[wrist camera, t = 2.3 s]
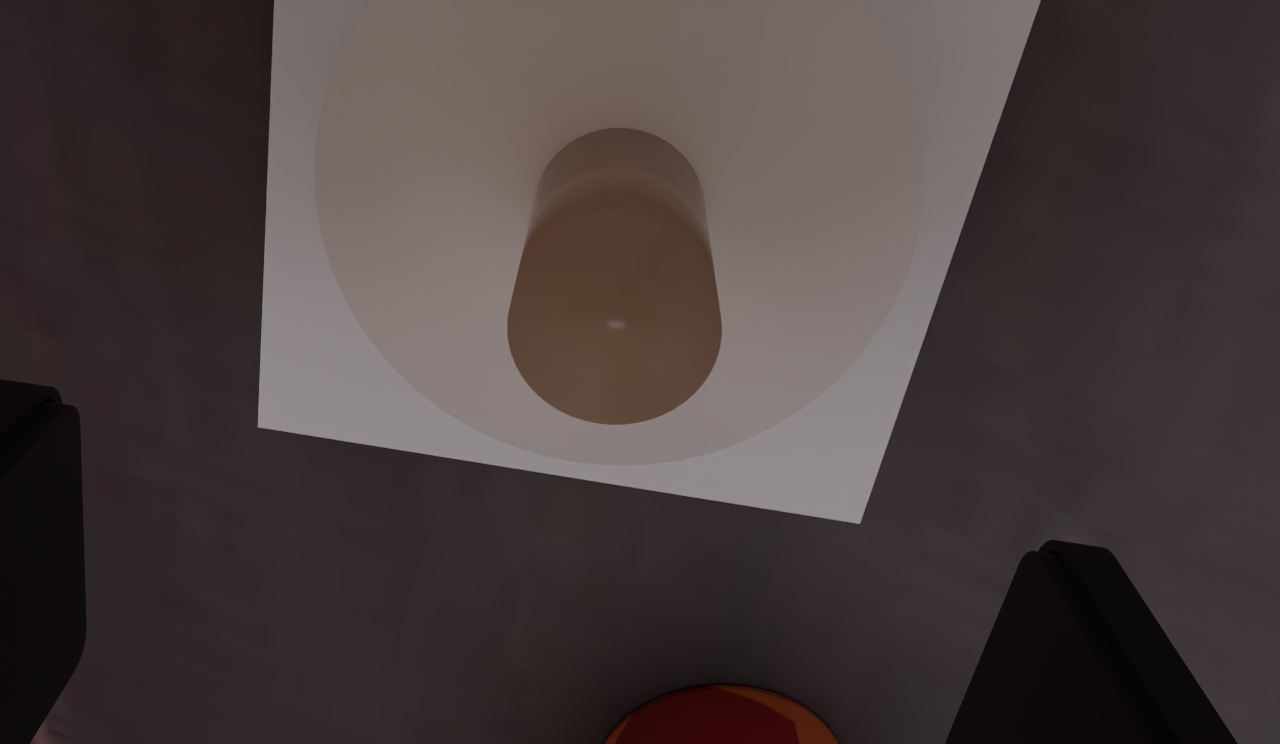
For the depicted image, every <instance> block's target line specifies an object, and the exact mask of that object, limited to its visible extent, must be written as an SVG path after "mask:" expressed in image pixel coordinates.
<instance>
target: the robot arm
mask: <svg viewBox="0 0 1280 744" xmlns="http://www.w3.org/2000/svg"><path fill="white" fill-rule="evenodd" d="M85 639H86V596H85V564H84V532H83V500H82V468H81V436H80V418H79V413H78V410H77V408H76V407H74V406H72V405H65V404H62V399H61V396H60V394H59V392H58V391H57V390H56V389H55V388H54V387H49V386H42V385H36V384H29V383H23V382H16V381H10V380H3V379H0V744H30V742H31V741H32V739H33V737H34V736H35V734H36V733H37V731H38V729H39V728H40V726H41V724H42V723H43V721H44V720H45V718H46V716H47V715H48V713H49V711H50V710H51V708H52V707H53V705H54V703H55V702H56V700H57V699H58V697H59V695H60V694H61V692H62V690H63V689H64V687H65V686H66V684H67V682H68V681H69V679H70V678H71V676H72V674H73V673H74V671H75V669H76V667H77V665H78V663H79V661H80V658H81V655H82V652H83V648H84V645H85ZM945 744H1237V742H1236V741H1235V739H1234V738H1233V736H1232V734H1231V733H1230V731H1229V730H1228V728H1227V727H1226V725H1225V724H1224V722H1223V721H1222V719H1221V718H1220V716H1219V715H1218V713H1217V712H1216V710H1215V709H1214V707H1213V706H1212V704H1211V703H1210V701H1209V699H1208V698H1207V696H1206V695H1205V693H1204V692H1203V690H1202V689H1201V687H1200V686H1199V684H1198V683H1197V681H1196V680H1195V678H1194V677H1193V675H1192V674H1191V672H1190V671H1189V669H1188V667H1187V666H1186V664H1185V663H1184V661H1183V660H1182V658H1181V657H1180V655H1179V654H1178V652H1177V651H1176V649H1175V648H1174V646H1173V645H1172V643H1171V642H1170V640H1169V639H1168V637H1167V636H1166V634H1165V632H1164V631H1163V629H1162V628H1161V626H1160V625H1159V623H1158V622H1157V620H1156V619H1155V617H1154V616H1153V614H1152V613H1151V611H1150V610H1149V608H1148V607H1147V605H1146V604H1145V602H1144V600H1143V599H1142V597H1141V596H1140V594H1139V593H1138V591H1137V590H1136V588H1135V587H1134V585H1133V584H1132V582H1131V581H1130V579H1129V578H1128V576H1127V575H1126V573H1125V572H1124V570H1123V569H1122V567H1121V565H1120V564H1119V562H1118V561H1117V559H1116V558H1115V556H1114V555H1113V554H1112V553H1111V552H1110V551H1109V550H1108V549H1106V548H1102V547H1096V546H1090V545H1083V544H1077V543H1070V542H1064V541H1057V540H1050V541H1047V542H1046V543H1045V544H1044V545H1043V546H1042V547H1041V548H1040V549H1039V551H1038V552H1036V551H1030V552H1027V553H1026V554H1025V555H1024V556H1023V558H1022V560H1021V561H1020V563H1019V566H1018V568H1017V571H1016V573H1015V575H1014V578H1013V580H1012V583H1011V585H1010V587H1009V590H1008V592H1007V595H1006V597H1005V600H1004V602H1003V604H1002V607H1001V609H1000V612H999V614H998V617H997V619H996V621H995V624H994V626H993V629H992V631H991V633H990V636H989V638H988V641H987V643H986V646H985V648H984V650H983V653H982V655H981V658H980V660H979V663H978V665H977V667H976V670H975V672H974V675H973V677H972V679H971V682H970V684H969V687H968V689H967V692H966V694H965V696H964V699H963V701H962V704H961V706H960V708H959V711H958V713H957V716H956V718H955V721H954V723H953V725H952V728H951V730H950V733H949V735H948V738H947V740H946V743H945Z"/></svg>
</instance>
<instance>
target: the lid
mask: <svg viewBox="0 0 1280 744" xmlns="http://www.w3.org/2000/svg"><path fill="white" fill-rule="evenodd" d="M314 178H315V200H316V207H317V213H318V220H319V226H320V232H321V236H322V240H323V243H324V246H325V250H326V253H327V256H328V260H329V263H330V267H331V270H332V272H333V274H334V277H335V279H336V281H337V283H338V285H339V288H340V290H341V292H342V294H343V297H344V299H345V301H346V303H347V305H348V307H349V308H350V310H351V312H352V313H353V315H354V316H355V318H356V320H357V321H358V323H359V325H360V326H361V328H362V330H363V331H364V333H365V335H366V336H367V337H368V338H369V340H370V341H371V342H372V343H373V345H374V346H375V347H376V348H377V350H378V351H379V352H380V353H381V355H382V356H383V357H384V358H385V360H386V361H387V362H388V363H389V364H390V365H391V366H392V367H393V368H394V369H395V370H396V371H397V372H398V373H399V374H400V375H401V376H402V377H403V378H404V379H405V380H406V381H407V382H408V383H409V384H410V385H411V386H412V387H413V388H414V389H415V390H417V391H418V392H419V393H420V394H422V395H423V396H424V397H426V398H427V399H428V400H429V401H431V402H432V403H433V404H435V405H436V406H437V407H438V408H440V409H441V410H442V411H444V412H446V413H447V414H449V415H451V416H452V417H454V418H456V419H457V420H459V421H461V422H462V423H464V424H465V425H467V426H469V427H470V428H472V429H474V430H476V431H478V432H481V433H483V434H485V435H487V436H489V437H492V438H494V439H496V440H498V441H500V442H502V443H505V444H507V445H510V446H513V447H517V448H520V449H523V450H526V451H529V452H532V453H535V454H538V455H542V456H547V457H551V458H556V459H561V460H566V461H570V462H577V463H588V464H598V465H608V466H610V465H648V464H656V463H664V462H673V461H680V460H684V459H688V458H692V457H696V456H701V455H705V454H709V453H713V452H716V451H719V450H721V449H724V448H727V447H730V446H732V445H735V444H738V443H741V442H744V441H746V440H748V439H750V438H752V437H754V436H756V435H758V434H760V433H762V432H764V431H766V430H768V429H770V428H772V427H775V426H777V425H778V424H780V423H781V422H783V421H784V420H786V419H788V418H789V417H791V416H792V415H794V414H795V413H797V412H798V411H800V410H801V409H803V408H805V407H806V406H808V405H809V404H810V403H811V402H812V401H814V400H815V399H816V398H817V397H818V396H820V395H821V394H822V393H823V392H824V391H826V390H827V389H828V388H829V387H830V386H832V385H833V384H834V383H835V382H836V381H837V380H838V379H839V378H840V377H841V376H842V375H843V374H844V373H845V371H846V370H847V369H848V368H849V367H850V366H851V365H852V364H853V363H854V362H855V361H856V360H857V359H858V358H859V357H860V355H861V354H862V352H863V351H864V350H865V348H866V347H867V346H868V344H869V343H870V342H871V340H872V339H873V337H874V336H875V335H876V333H877V332H878V331H879V329H880V328H881V326H882V324H883V322H884V321H885V319H886V317H887V315H888V313H889V312H890V310H891V308H892V306H893V304H894V303H895V301H896V299H897V297H898V295H899V293H900V290H901V288H902V285H903V283H904V280H905V277H906V275H907V272H908V270H909V267H910V265H911V262H912V259H913V255H914V251H915V246H916V242H917V238H918V234H919V230H920V226H921V218H922V209H923V200H924V191H925V177H924V148H923V142H922V137H921V131H920V125H919V119H918V113H917V109H916V106H915V103H914V99H913V96H912V93H911V90H910V87H909V84H908V81H907V77H906V74H905V72H904V70H903V68H902V65H901V63H900V61H899V59H898V57H897V55H896V53H895V51H894V49H893V47H892V45H891V43H890V41H889V39H888V37H887V35H886V33H885V32H884V30H883V29H882V27H881V26H880V24H879V23H878V22H877V20H876V19H875V17H874V16H873V14H872V13H871V11H870V10H869V8H868V7H867V5H866V4H865V2H864V1H863V0H373V1H372V3H371V4H370V5H369V6H368V7H367V9H366V10H365V12H364V14H363V15H362V17H361V18H360V20H359V22H358V23H357V25H356V27H355V28H354V30H353V31H352V33H351V35H350V36H349V38H348V40H347V41H346V43H345V45H344V47H343V50H342V52H341V54H340V57H339V59H338V61H337V64H336V66H335V68H334V71H333V73H332V75H331V78H330V80H329V83H328V87H327V91H326V94H325V98H324V102H323V105H322V109H321V113H320V117H319V122H318V130H317V138H316V147H315V155H314Z"/></svg>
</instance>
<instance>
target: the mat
mask: <svg viewBox="0 0 1280 744" xmlns="http://www.w3.org/2000/svg"><path fill="white" fill-rule="evenodd" d="M372 1H373V0H274V19H273V45H272V71H271V97H270V123H269V149H268V175H267V201H266V227H265V253H264V279H263V305H262V331H261V357H260V383H259V409H258V427H260V428H266V429H273V430H279V431H285V432H291V433H298V434H304V435H310V436H316V437H322V438H329V439H335V440H341V441H347V442H354V443H360V444H366V445H372V446H378V447H385V448H391V449H397V450H403V451H410V452H416V453H422V454H428V455H434V456H441V457H447V458H453V459H459V460H466V461H472V462H478V463H484V464H490V465H497V466H503V467H509V468H515V469H522V470H528V471H534V472H540V473H546V474H553V475H559V476H565V477H571V478H578V479H584V480H590V481H596V482H602V483H609V484H615V485H621V486H627V487H634V488H640V489H646V490H652V491H658V492H665V493H671V494H677V495H683V496H690V497H696V498H702V499H708V500H714V501H721V502H727V503H733V504H739V505H746V506H752V507H758V508H764V509H770V510H777V511H783V512H789V513H795V514H802V515H808V516H814V517H820V518H826V519H833V520H839V521H845V522H851V523H858V524H860V522H861V519H862V516H863V513H864V510H865V508H866V505H867V502H868V499H869V496H870V493H871V490H872V487H873V484H874V482H875V479H876V476H877V473H878V470H879V467H880V464H881V461H882V458H883V455H884V453H885V450H886V447H887V444H888V441H889V438H890V435H891V432H892V429H893V427H894V424H895V421H896V418H897V415H898V412H899V409H900V406H901V403H902V400H903V398H904V395H905V392H906V389H907V386H908V383H909V380H910V377H911V374H912V372H913V369H914V366H915V363H916V360H917V357H918V354H919V351H920V348H921V345H922V343H923V340H924V337H925V334H926V331H927V328H928V325H929V322H930V319H931V317H932V314H933V311H934V308H935V305H936V302H937V299H938V296H939V293H940V290H941V288H942V285H943V282H944V279H945V276H946V273H947V270H948V267H949V264H950V262H951V259H952V256H953V253H954V250H955V247H956V244H957V241H958V238H959V235H960V233H961V230H962V227H963V224H964V221H965V218H966V215H967V212H968V209H969V206H970V204H971V201H972V198H973V195H974V192H975V189H976V186H977V183H978V180H979V178H980V175H981V172H982V169H983V166H984V163H985V160H986V157H987V154H988V151H989V149H990V146H991V143H992V140H993V137H994V134H995V131H996V128H997V125H998V123H999V120H1000V117H1001V114H1002V111H1003V108H1004V105H1005V102H1006V99H1007V96H1008V94H1009V91H1010V88H1011V85H1012V82H1013V79H1014V76H1015V73H1016V70H1017V68H1018V65H1019V62H1020V59H1021V56H1022V53H1023V50H1024V47H1025V44H1026V41H1027V39H1028V36H1029V33H1030V30H1031V27H1032V24H1033V21H1034V18H1035V15H1036V13H1037V10H1038V7H1039V4H1040V1H1041V0H863V1H864V2H865V4H866V5H867V7H868V8H869V10H870V11H871V13H872V14H873V16H874V17H875V19H876V20H877V22H878V23H879V24H880V26H881V27H882V29H883V30H884V32H885V33H886V35H887V37H888V39H889V41H890V43H891V45H892V47H893V49H894V51H895V53H896V55H897V57H898V59H899V61H900V63H901V65H902V68H903V70H904V72H905V74H906V77H907V81H908V84H909V87H910V90H911V93H912V96H913V99H914V103H915V106H916V109H917V113H918V119H919V125H920V131H921V137H922V142H923V148H924V177H925V191H924V200H923V209H922V218H921V226H920V230H919V234H918V238H917V242H916V246H915V251H914V255H913V259H912V262H911V265H910V267H909V270H908V272H907V275H906V277H905V280H904V283H903V285H902V288H901V290H900V293H899V295H898V297H897V299H896V301H895V303H894V304H893V306H892V308H891V310H890V312H889V313H888V315H887V317H886V319H885V321H884V322H883V324H882V326H881V328H880V329H879V331H878V332H877V333H876V335H875V336H874V337H873V339H872V340H871V342H870V343H869V344H868V346H867V347H866V348H865V350H864V351H863V352H862V354H861V355H860V357H859V358H858V359H857V360H856V361H855V362H854V363H853V364H852V365H851V366H850V367H849V368H848V369H847V370H846V371H845V373H844V374H843V375H842V376H841V377H840V378H839V379H838V380H837V381H836V382H835V383H834V384H833V385H832V386H830V387H829V388H828V389H827V390H826V391H824V392H823V393H822V394H821V395H820V396H818V397H817V398H816V399H815V400H814V401H812V402H811V403H810V404H809V405H808V406H806V407H805V408H803V409H801V410H800V411H798V412H797V413H795V414H794V415H792V416H791V417H789V418H788V419H786V420H784V421H783V422H781V423H780V424H778V425H777V426H775V427H772V428H770V429H768V430H766V431H764V432H762V433H760V434H758V435H756V436H754V437H752V438H750V439H748V440H746V441H744V442H741V443H738V444H735V445H732V446H730V447H727V448H724V449H721V450H719V451H716V452H713V453H709V454H705V455H701V456H696V457H692V458H688V459H684V460H680V461H673V462H664V463H656V464H648V465H610V466H608V465H598V464H588V463H577V462H570V461H566V460H561V459H556V458H551V457H547V456H542V455H538V454H535V453H532V452H529V451H526V450H523V449H520V448H517V447H513V446H510V445H507V444H505V443H502V442H500V441H498V440H496V439H494V438H492V437H489V436H487V435H485V434H483V433H481V432H478V431H476V430H474V429H472V428H470V427H469V426H467V425H465V424H464V423H462V422H461V421H459V420H457V419H456V418H454V417H452V416H451V415H449V414H447V413H446V412H444V411H442V410H441V409H440V408H438V407H437V406H436V405H435V404H433V403H432V402H431V401H429V400H428V399H427V398H426V397H424V396H423V395H422V394H420V393H419V392H418V391H417V390H415V389H414V388H413V387H412V386H411V385H410V384H409V383H408V382H407V381H406V380H405V379H404V378H403V377H402V376H401V375H400V374H399V373H398V372H397V371H396V370H395V369H394V368H393V367H392V366H391V365H390V364H389V363H388V362H387V361H386V360H385V358H384V357H383V356H382V355H381V353H380V352H379V351H378V350H377V348H376V347H375V346H374V345H373V343H372V342H371V341H370V340H369V338H368V337H367V336H366V335H365V333H364V331H363V330H362V328H361V326H360V325H359V323H358V321H357V320H356V318H355V316H354V315H353V313H352V312H351V310H350V308H349V307H348V305H347V303H346V301H345V299H344V297H343V294H342V292H341V290H340V288H339V285H338V283H337V281H336V279H335V277H334V274H333V272H332V270H331V267H330V263H329V260H328V256H327V253H326V250H325V246H324V243H323V240H322V236H321V232H320V226H319V220H318V213H317V207H316V200H315V178H314V155H315V147H316V138H317V130H318V122H319V117H320V113H321V109H322V105H323V102H324V98H325V94H326V91H327V87H328V83H329V80H330V78H331V75H332V73H333V71H334V68H335V66H336V64H337V61H338V59H339V57H340V54H341V52H342V50H343V47H344V45H345V43H346V41H347V40H348V38H349V36H350V35H351V33H352V31H353V30H354V28H355V27H356V25H357V23H358V22H359V20H360V18H361V17H362V15H363V14H364V12H365V10H366V9H367V7H368V6H369V5H370V4H371V3H372Z"/></svg>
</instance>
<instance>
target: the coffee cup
mask: <svg viewBox="0 0 1280 744" xmlns="http://www.w3.org/2000/svg"><path fill="white" fill-rule="evenodd" d="M604 744H838V742H837V740H836V739H835V737H834V735H833V734H832V732H831V731H830V729H829V728H828V727H827V726H826V724H825V723H824V722H823V721H822V720H821V719H820V718H819V717H818V716H817V715H815V714H814V713H813V712H812V711H810V710H809V709H807V708H806V707H804V706H803V705H801V704H799V703H798V702H796V701H794V700H792V699H790V698H788V697H785V696H783V695H780V694H778V693H775V692H772V691H768V690H764V689H760V688H755V687H750V686H742V685H705V686H697V687H692V688H687V689H682V690H678V691H675V692H672V693H669V694H666V695H663V696H661V697H658V698H656V699H654V700H652V701H650V702H648V703H646V704H644V705H643V706H641V707H639V708H638V709H636V710H635V711H633V712H632V713H631V714H629V715H628V716H627V717H626V718H625V719H623V720H622V721H621V722H620V723H619V724H618V725H617V726H616V727H615V729H614V730H613V731H612V732H611V734H610V735H609V737H608V738H607V740H606V741H605V743H604Z"/></svg>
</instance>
